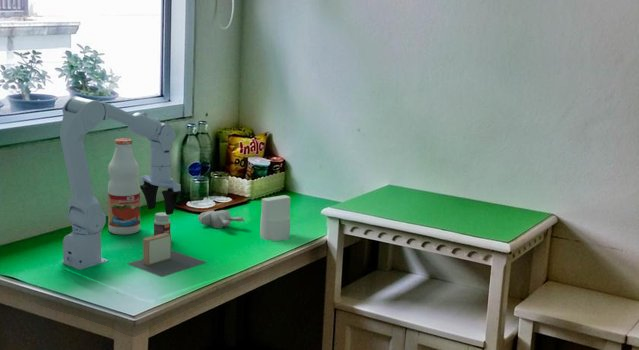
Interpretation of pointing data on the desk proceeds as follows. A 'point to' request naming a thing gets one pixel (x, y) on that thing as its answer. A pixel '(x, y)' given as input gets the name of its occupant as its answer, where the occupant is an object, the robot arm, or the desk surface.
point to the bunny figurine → (217, 218)
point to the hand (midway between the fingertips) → (160, 211)
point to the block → (156, 248)
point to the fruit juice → (123, 190)
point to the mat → (169, 264)
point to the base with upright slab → (275, 218)
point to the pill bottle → (161, 224)
